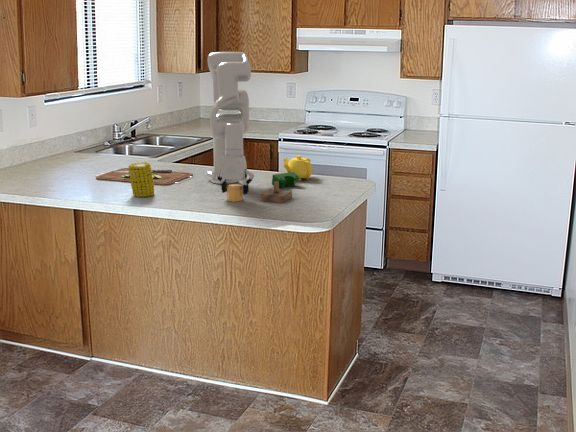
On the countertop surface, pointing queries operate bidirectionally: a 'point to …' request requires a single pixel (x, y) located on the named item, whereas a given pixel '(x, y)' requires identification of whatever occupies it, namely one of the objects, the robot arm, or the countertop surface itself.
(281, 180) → the clamp
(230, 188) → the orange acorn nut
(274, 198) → the post block
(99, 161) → the countertop surface
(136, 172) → the food
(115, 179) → the chopping board
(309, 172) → the teapot
